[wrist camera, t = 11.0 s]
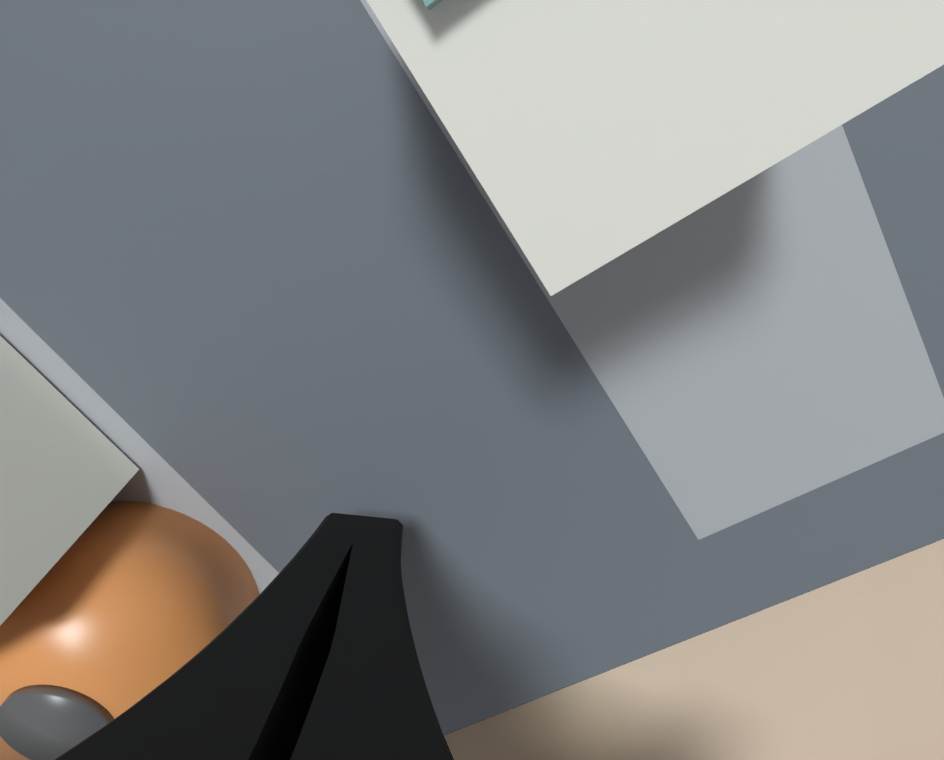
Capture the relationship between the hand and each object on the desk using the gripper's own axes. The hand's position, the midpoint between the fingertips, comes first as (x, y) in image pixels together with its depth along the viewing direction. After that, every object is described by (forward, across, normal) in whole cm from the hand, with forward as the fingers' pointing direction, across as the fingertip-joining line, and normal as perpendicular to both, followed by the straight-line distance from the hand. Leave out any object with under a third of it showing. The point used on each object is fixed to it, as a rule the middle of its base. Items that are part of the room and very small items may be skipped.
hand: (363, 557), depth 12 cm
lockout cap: (+1, +5, +3) cm, 6 cm away
